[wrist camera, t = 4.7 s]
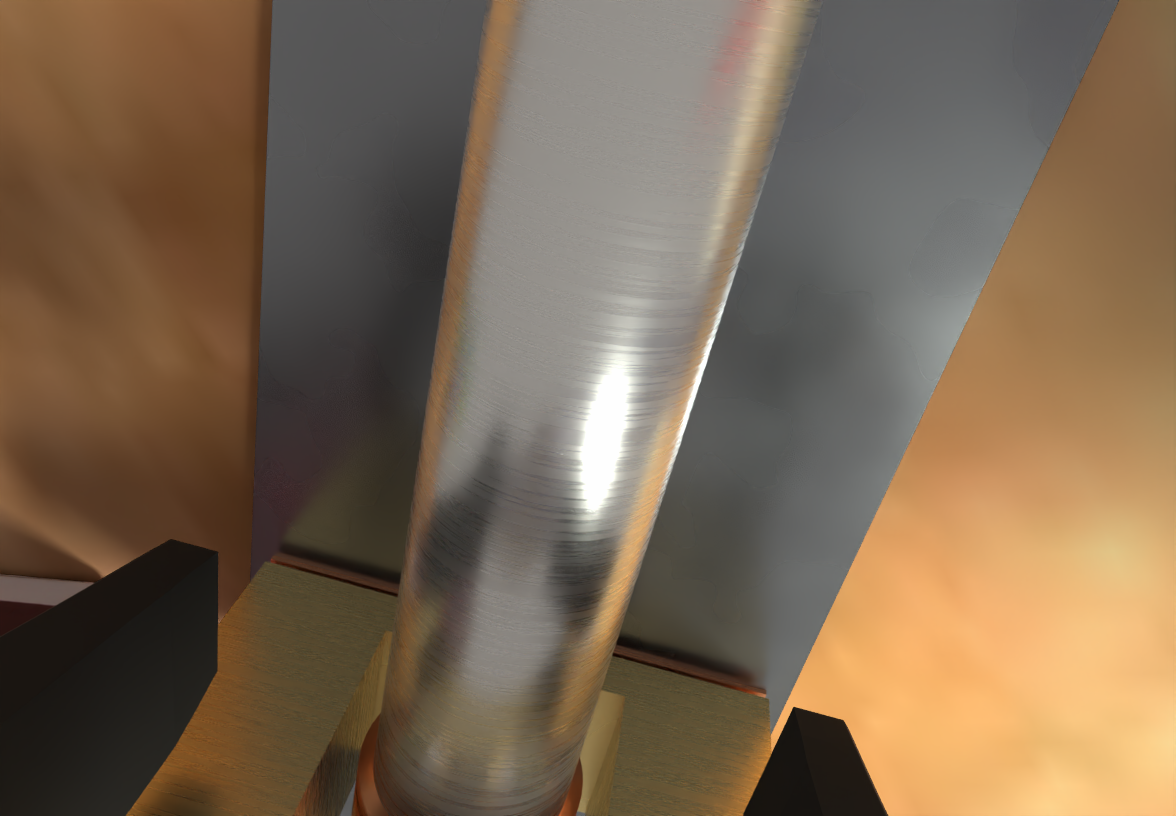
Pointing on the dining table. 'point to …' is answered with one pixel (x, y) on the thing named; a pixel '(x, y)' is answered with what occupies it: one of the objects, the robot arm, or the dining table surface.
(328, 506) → the pipe stand
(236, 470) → the dining table surface
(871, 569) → the dining table surface
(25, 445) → the dining table surface
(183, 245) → the dining table surface
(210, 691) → the yellow block with hole
